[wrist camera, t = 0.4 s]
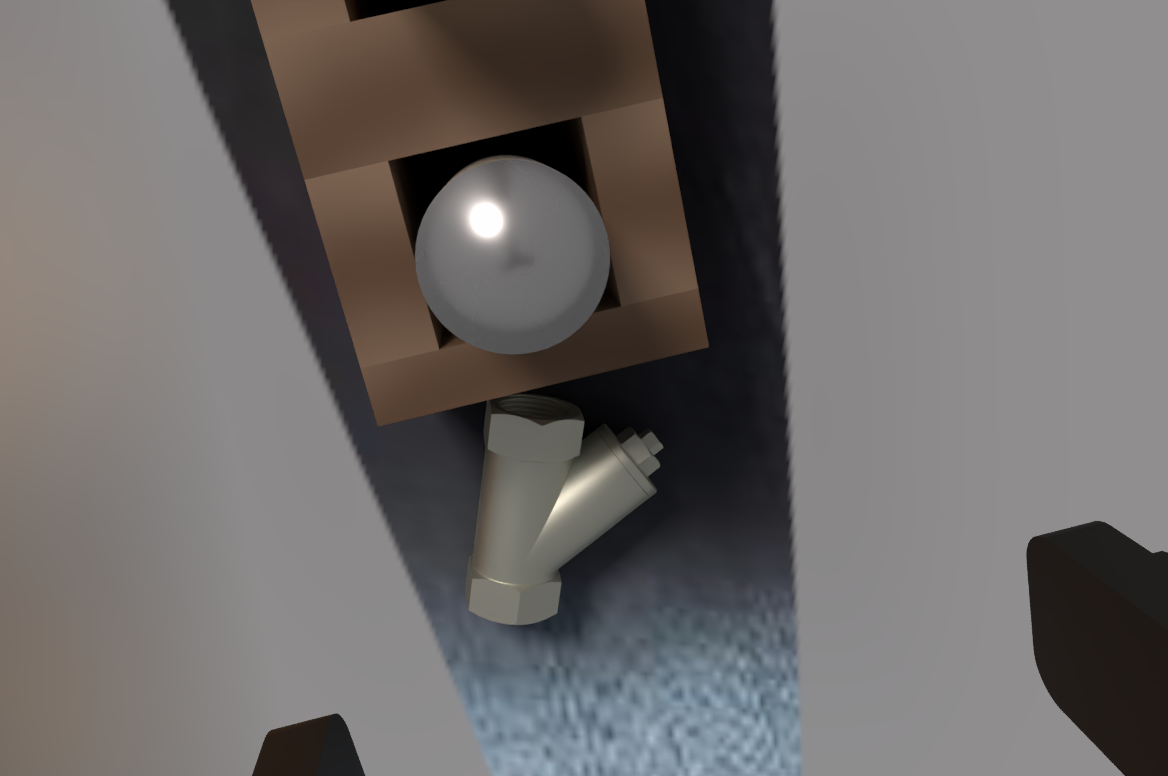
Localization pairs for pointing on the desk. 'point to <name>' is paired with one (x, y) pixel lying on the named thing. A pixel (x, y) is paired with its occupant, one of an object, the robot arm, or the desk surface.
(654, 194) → the socket block
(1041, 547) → the robot arm
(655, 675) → the desk surface
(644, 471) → the pipe fitting
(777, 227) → the desk surface
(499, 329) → the steel peg
